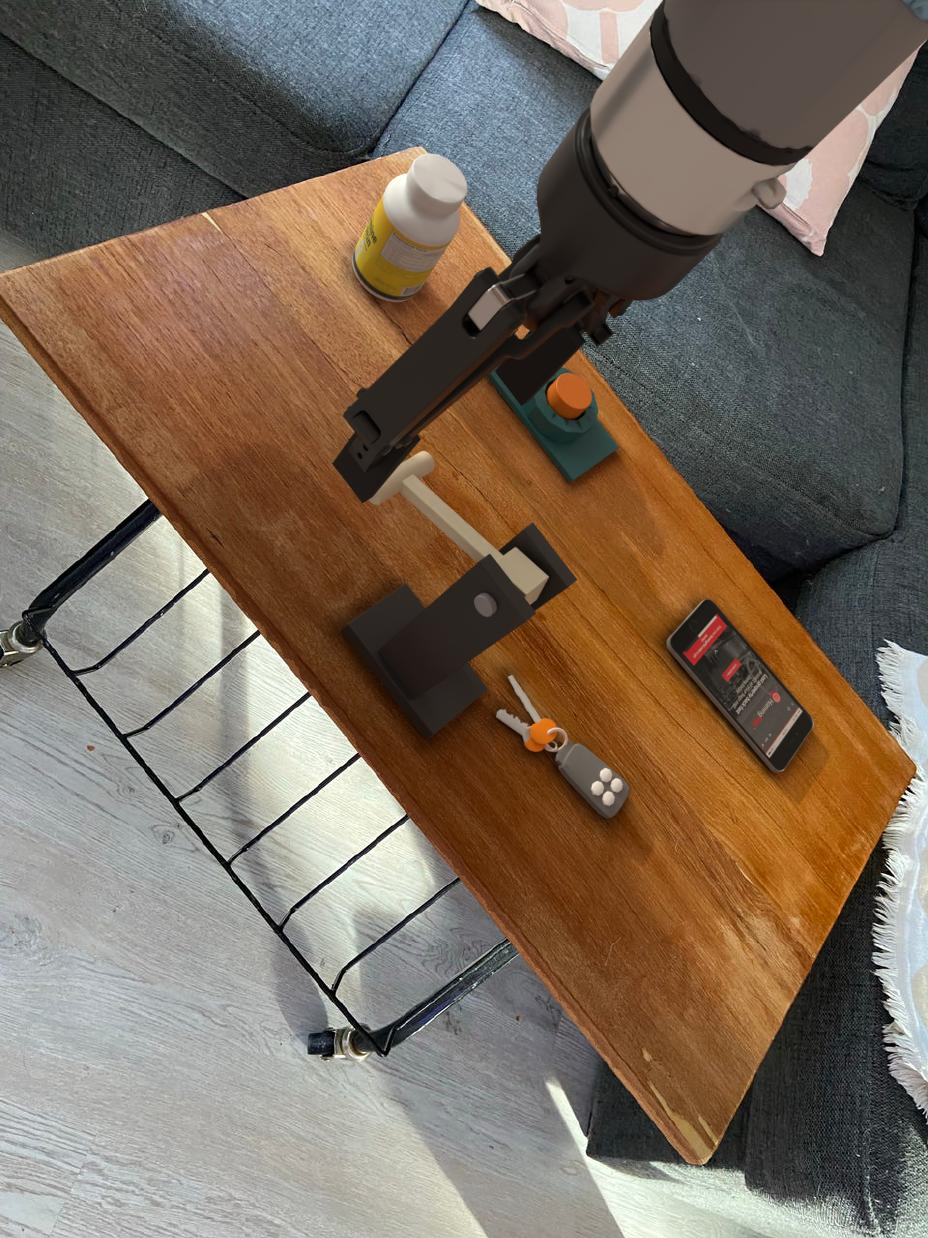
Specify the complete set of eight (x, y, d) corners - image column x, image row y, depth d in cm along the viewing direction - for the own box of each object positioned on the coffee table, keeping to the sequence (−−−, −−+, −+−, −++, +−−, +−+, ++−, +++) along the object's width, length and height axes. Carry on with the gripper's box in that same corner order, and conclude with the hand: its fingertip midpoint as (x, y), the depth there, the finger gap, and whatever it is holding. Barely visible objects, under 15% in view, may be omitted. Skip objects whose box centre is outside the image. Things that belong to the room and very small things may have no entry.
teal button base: (485, 375, 86) (498, 359, 84) (534, 347, 90) (548, 330, 87) (569, 484, 86) (584, 470, 83) (615, 450, 89) (631, 437, 87)
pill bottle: (378, 230, 86) (432, 130, 76) (432, 283, 87) (493, 190, 77) (334, 264, 82) (385, 163, 73) (391, 318, 83) (449, 226, 73)
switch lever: (360, 500, 61) (367, 474, 59) (415, 466, 64) (423, 440, 62) (499, 629, 58) (511, 606, 56) (551, 588, 61) (563, 565, 59)
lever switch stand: (340, 630, 71) (443, 526, 56) (398, 590, 74) (510, 481, 59) (425, 740, 71) (550, 664, 56) (479, 694, 74) (611, 612, 59)
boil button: (538, 392, 85) (548, 381, 83) (563, 377, 87) (574, 366, 85) (564, 425, 85) (574, 415, 83) (588, 409, 87) (599, 399, 85)
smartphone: (708, 595, 87) (816, 722, 87) (703, 598, 88) (811, 725, 88) (666, 642, 83) (780, 775, 83) (661, 644, 84) (774, 777, 84)
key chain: (626, 787, 77) (637, 784, 76) (604, 823, 75) (615, 820, 74) (508, 675, 76) (517, 669, 75) (482, 708, 74) (491, 702, 73)
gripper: (522, 353, 32) (316, 587, 50) (855, 164, 46) (602, 399, 64) (383, 170, 32) (226, 469, 50) (759, 36, 46) (532, 307, 64)
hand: (436, 430), depth 57 cm, fingers open, 13 cm apart
